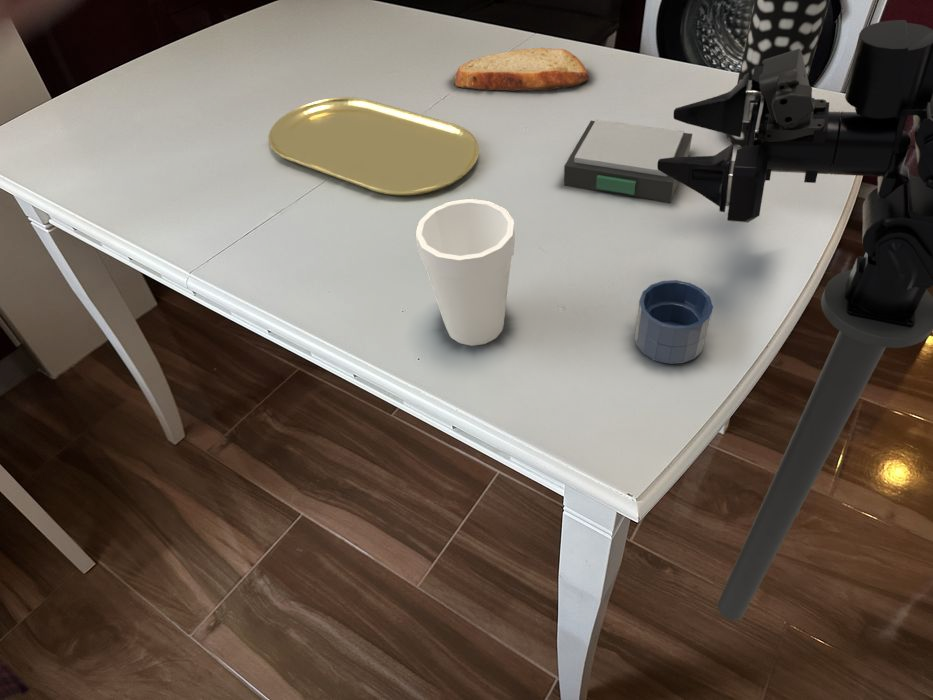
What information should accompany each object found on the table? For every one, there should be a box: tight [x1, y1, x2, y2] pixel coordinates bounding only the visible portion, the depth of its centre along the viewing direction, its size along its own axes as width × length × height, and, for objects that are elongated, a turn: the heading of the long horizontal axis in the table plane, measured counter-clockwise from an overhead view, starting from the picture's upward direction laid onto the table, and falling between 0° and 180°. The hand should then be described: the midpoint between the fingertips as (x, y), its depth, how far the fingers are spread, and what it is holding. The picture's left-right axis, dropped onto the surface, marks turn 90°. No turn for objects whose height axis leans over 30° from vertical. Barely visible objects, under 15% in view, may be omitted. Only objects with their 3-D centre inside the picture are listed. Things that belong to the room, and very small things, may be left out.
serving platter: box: [268, 96, 480, 196], centre depth 101 cm, size 19×35×2 cm, turn 55°
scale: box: [563, 119, 693, 204], centre depth 91 cm, size 14×12×4 cm
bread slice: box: [453, 47, 590, 92], centre depth 111 cm, size 18×18×4 cm
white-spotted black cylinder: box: [726, 0, 831, 149], centre depth 88 cm, size 8×8×20 cm
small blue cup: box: [634, 279, 714, 365], centre depth 68 cm, size 7×7×6 cm
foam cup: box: [415, 198, 516, 347], centre depth 70 cm, size 10×9×13 cm
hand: (666, 138), depth 71 cm, fingers open, 9 cm apart
